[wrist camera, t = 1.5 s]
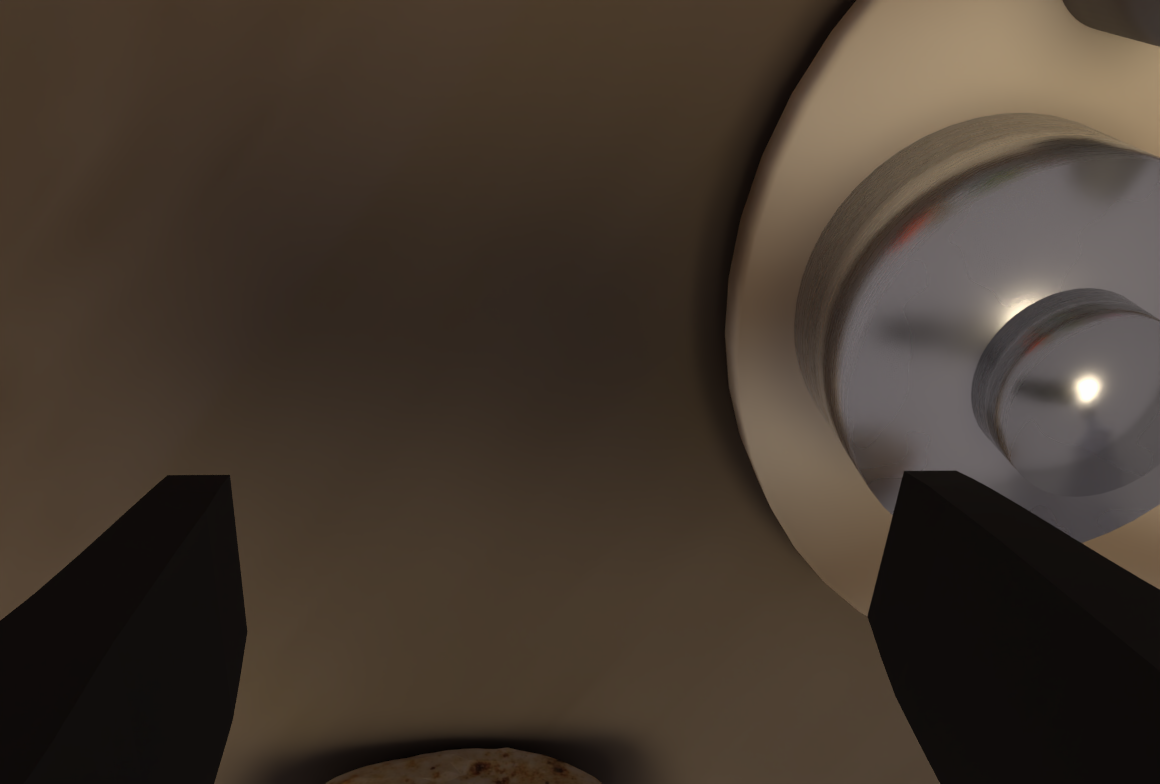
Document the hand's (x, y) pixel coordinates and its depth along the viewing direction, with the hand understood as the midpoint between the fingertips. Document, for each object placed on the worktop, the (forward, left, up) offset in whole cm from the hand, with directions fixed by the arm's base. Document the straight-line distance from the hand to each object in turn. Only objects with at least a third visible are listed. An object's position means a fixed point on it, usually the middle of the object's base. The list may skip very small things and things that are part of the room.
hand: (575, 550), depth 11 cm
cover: (0, -8, -8) cm, 11 cm away
